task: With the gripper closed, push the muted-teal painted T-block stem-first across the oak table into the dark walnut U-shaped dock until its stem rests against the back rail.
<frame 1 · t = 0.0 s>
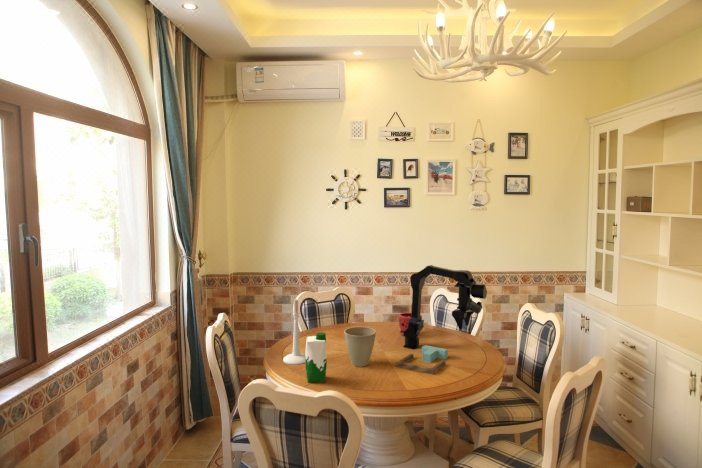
hand: (463, 327, 222), 15 cm above the table, fingers open, 9 cm apart
tee: (434, 356, 224), on the table
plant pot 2: (410, 335, 260), on the table
candlestick: (296, 360, 218), on the table
milk carton: (316, 379, 194), on the table
dock: (421, 365, 211), on the table
plant pot: (359, 364, 212), on the table
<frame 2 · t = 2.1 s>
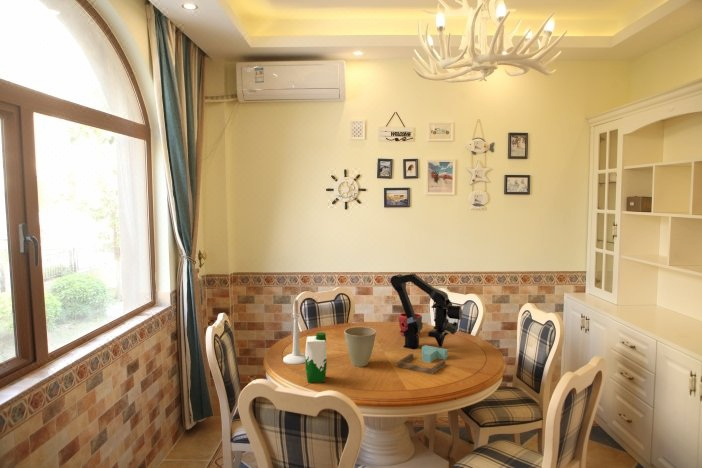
hand: (440, 347, 230), 2 cm above the table, fingers closed
nothing on the table moved.
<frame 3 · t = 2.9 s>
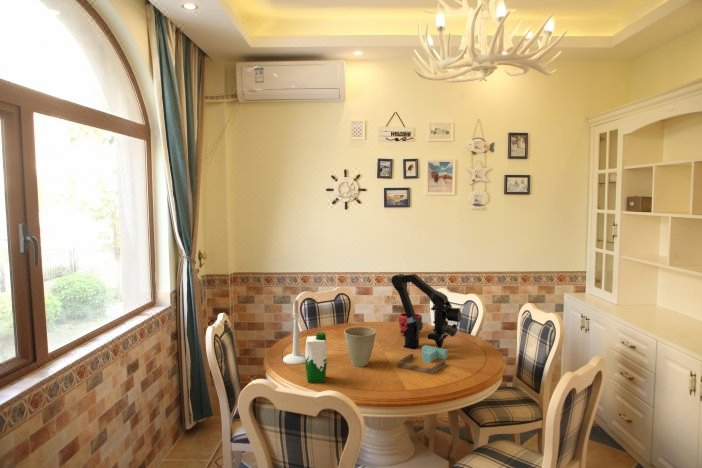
hand: (439, 349, 229), 2 cm above the table, fingers closed
nothing on the table moved.
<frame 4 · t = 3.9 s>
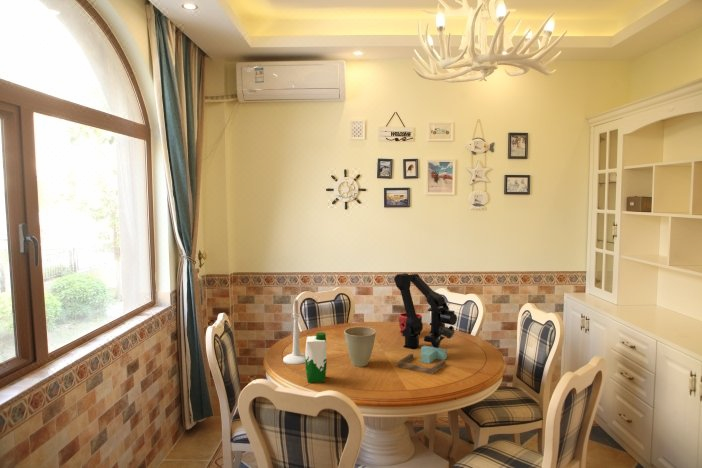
hand: (436, 351, 225), 2 cm above the table, fingers closed
tee: (433, 356, 223), on the table, touching gripper
everything else where it was.
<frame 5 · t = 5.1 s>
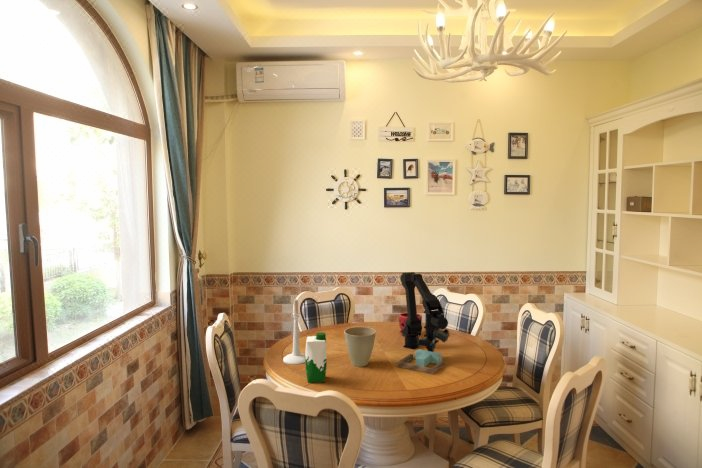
hand: (431, 355, 220), 2 cm above the table, fingers closed
tee: (428, 360, 217), on the table, touching gripper
everything else where it was.
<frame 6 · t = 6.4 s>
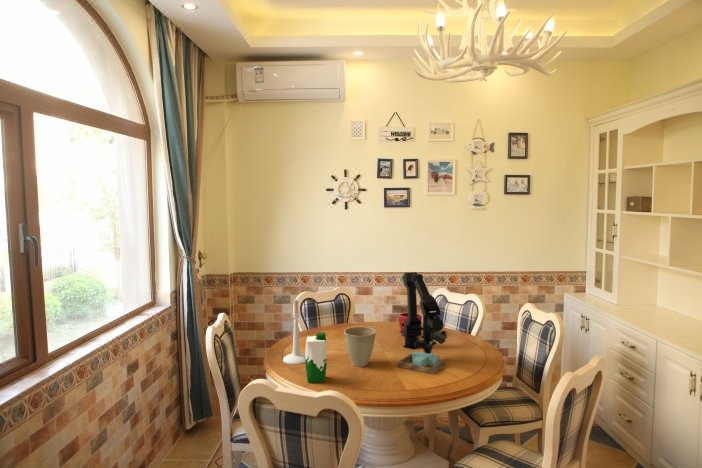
hand: (428, 357, 217), 2 cm above the table, fingers closed
tee: (425, 362, 215), on the table, touching gripper
everything else where it was.
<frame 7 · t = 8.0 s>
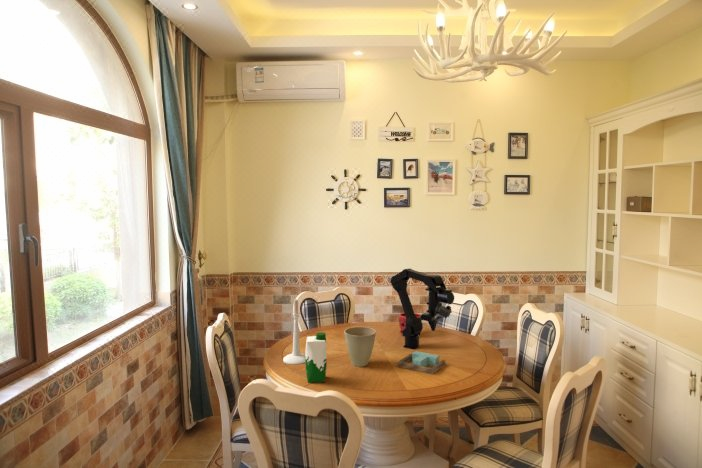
hand: (433, 330, 226), 12 cm above the table, fingers closed
tee: (425, 362, 214), on the table
everything else where it was.
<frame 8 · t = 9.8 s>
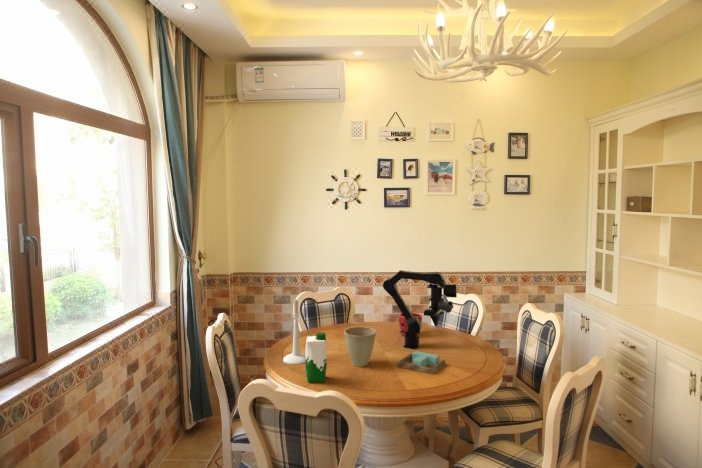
hand: (436, 326, 234), 12 cm above the table, fingers closed
nothing on the table moved.
at the end: tee 0.0 cm from the target spot on the dock, point 0.0 cm above the dock's base; tee tilted 0°; tee moved 11.0 cm from its start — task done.
